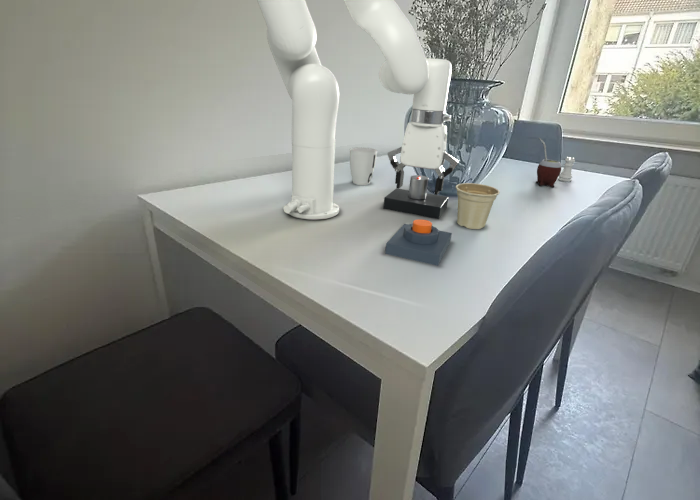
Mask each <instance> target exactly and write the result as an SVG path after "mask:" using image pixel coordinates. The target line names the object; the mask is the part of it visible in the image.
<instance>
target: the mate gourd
mask: <svg viewBox="0 0 700 500" xmlns="http://www.w3.org/2000/svg"><path fill="white" fill-rule="evenodd" d="M538 140H540V142H541V143H542V145H543V151H544V159H542V160H541V161H540V162H539V164H538V165H537V168H536V176H537V179H536V181H535V184H538V186H539V187H544V186H546V187H550V188H555V184H556V182H557V180H558V178H559V175H560V174H561V172H562V163H561V161H559V160H555V159H549V158H548V155H547V144H546V143H545V142H544V140H543V139H542V138H541V137H538Z"/></svg>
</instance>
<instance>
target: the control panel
mask: <svg viewBox="0 0 700 500" xmlns="http://www.w3.org/2000/svg"><path fill="white" fill-rule="evenodd" d="M408 194H409V189H402V188H394V190H392V191H391V192H390V193H388V194H387V195H386V196H384V197H383V210H388V211H392V212H398V213H403V214H408V215H413V216H420V217H424V218H431V219H435V220H440V219H441V218H442V215H443V214H444V213H445V211H446V210H447V208H448V203H449V196H446V195H439V194H438V195H435V194H433V193H427V194H426V198H425V199H421V200H418V199H412V198H410V197H409V196H408Z"/></svg>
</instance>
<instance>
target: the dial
mask: <svg viewBox="0 0 700 500" xmlns="http://www.w3.org/2000/svg"><path fill="white" fill-rule="evenodd" d="M429 179H430V178H429V177H428V176H425V175H419V174H413V175H411V176H410V178H409V185H408V186H409V188H408V190H409V194H408V196H409V197H410V198H412V199H418V200H421V199H425V198H426V194H428V185H429Z"/></svg>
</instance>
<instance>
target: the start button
mask: <svg viewBox="0 0 700 500" xmlns="http://www.w3.org/2000/svg"><path fill="white" fill-rule="evenodd" d="M412 223H413V227H412V231H415V232H417V233H431V228H432V226H433V223H432V221H430V220H427V219H421V218H419V219H414V220H413V221H412Z"/></svg>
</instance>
